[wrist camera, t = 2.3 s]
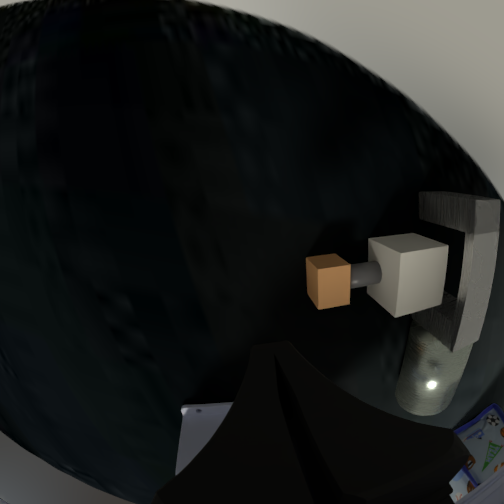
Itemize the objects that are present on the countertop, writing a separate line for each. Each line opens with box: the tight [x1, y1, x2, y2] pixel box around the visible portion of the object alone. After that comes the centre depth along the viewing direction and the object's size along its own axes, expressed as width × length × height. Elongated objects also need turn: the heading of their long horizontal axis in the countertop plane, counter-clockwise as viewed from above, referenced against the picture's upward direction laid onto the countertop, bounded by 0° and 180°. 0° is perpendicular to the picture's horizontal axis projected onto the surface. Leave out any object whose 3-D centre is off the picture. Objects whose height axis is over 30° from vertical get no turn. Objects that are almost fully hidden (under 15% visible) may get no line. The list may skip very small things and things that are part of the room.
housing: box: [395, 191, 500, 416], centre depth 16 cm, size 6×17×6 cm, turn 6°
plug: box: [306, 233, 449, 318], centre depth 16 cm, size 8×4×4 cm, turn 96°
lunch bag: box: [449, 403, 504, 503], centre depth 17 cm, size 23×17×27 cm
